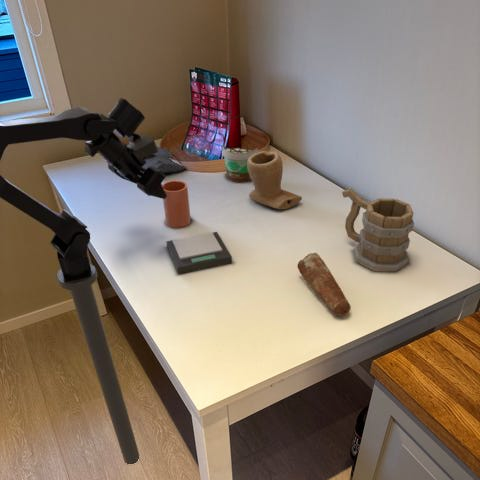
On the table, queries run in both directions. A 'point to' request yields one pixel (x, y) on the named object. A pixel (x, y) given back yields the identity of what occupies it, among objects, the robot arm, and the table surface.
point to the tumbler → (176, 204)
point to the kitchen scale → (198, 252)
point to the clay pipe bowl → (269, 181)
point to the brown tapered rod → (323, 283)
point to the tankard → (380, 232)
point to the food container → (237, 163)
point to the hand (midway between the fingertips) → (155, 191)
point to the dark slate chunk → (163, 161)
